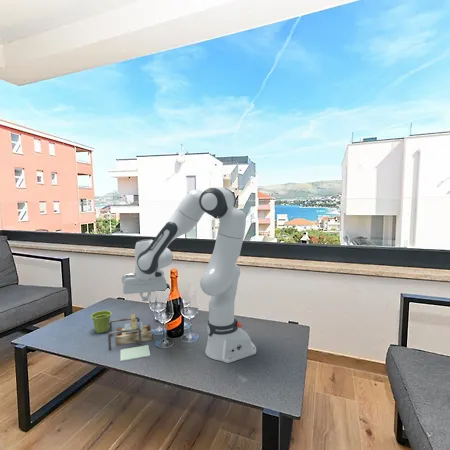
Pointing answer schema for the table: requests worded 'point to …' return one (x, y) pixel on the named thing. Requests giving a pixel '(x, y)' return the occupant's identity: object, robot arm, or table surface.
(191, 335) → the table surface
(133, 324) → the brass bolt
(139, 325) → the grey block with handle
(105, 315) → the plant pot
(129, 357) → the sage mat
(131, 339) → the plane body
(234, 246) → the robot arm
